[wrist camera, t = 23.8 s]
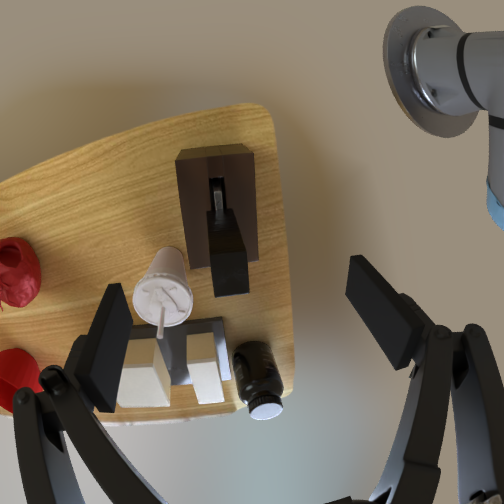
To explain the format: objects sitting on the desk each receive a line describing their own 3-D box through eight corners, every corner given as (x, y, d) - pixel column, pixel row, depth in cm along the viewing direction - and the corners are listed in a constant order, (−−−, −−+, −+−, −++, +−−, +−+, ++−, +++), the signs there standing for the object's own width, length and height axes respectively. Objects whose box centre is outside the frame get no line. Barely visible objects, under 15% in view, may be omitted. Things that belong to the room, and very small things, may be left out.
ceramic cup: (-21, 339, 38) (-40, 372, 29) (27, 332, 39) (6, 372, 30) (12, 381, 44) (-1, 415, 35) (62, 380, 45) (51, 420, 36)
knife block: (242, 143, 32) (254, 152, 25) (247, 231, 37) (258, 261, 30) (181, 149, 32) (174, 160, 24) (191, 237, 37) (190, 269, 30)
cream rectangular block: (213, 332, 43) (216, 361, 37) (220, 373, 47) (224, 401, 42) (186, 334, 42) (186, 364, 37) (197, 376, 47) (199, 404, 42)
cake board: (221, 316, 43) (222, 320, 42) (230, 375, 49) (231, 379, 48) (96, 327, 40) (95, 331, 40) (124, 383, 47) (123, 387, 46)
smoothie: (150, 282, 38) (135, 357, 26) (141, 239, 36) (115, 306, 23) (196, 277, 39) (198, 353, 27) (190, 233, 36) (187, 300, 24)
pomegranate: (57, 287, 36) (33, 327, 28) (11, 290, 35) (-14, 326, 27) (37, 225, 32) (2, 257, 24) (-9, 234, 30) (-43, 264, 22)
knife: (222, 167, 32) (245, 227, 16) (226, 217, 35) (250, 312, 19) (203, 169, 32) (206, 231, 16) (208, 219, 35) (217, 316, 19)
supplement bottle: (248, 372, 50) (260, 428, 39) (222, 354, 47) (231, 414, 36) (279, 352, 48) (298, 408, 38) (255, 332, 45) (271, 392, 35)
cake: (155, 337, 42) (152, 367, 36) (170, 378, 46) (170, 406, 41) (105, 340, 41) (97, 368, 35) (125, 380, 45) (120, 407, 40)
